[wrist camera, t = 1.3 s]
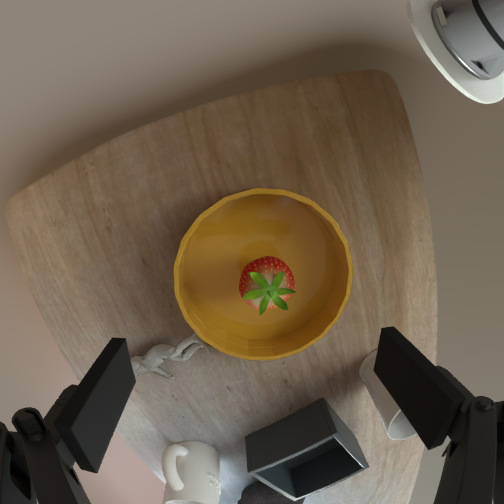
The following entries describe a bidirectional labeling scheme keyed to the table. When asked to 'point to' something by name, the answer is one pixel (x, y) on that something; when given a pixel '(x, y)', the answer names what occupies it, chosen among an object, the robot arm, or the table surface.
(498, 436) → the robot arm
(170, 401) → the table surface
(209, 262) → the bowl
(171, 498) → the mug
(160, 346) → the soldier figure
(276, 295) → the fruit
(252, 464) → the bin
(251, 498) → the teapot
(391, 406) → the cup
